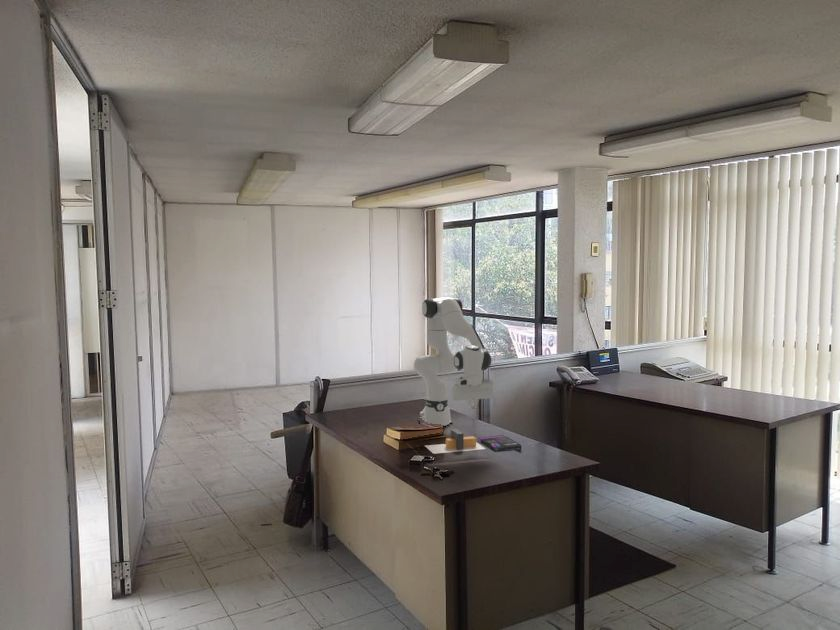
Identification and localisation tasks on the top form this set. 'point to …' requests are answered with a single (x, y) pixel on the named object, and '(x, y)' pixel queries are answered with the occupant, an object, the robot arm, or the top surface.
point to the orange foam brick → (466, 442)
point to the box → (500, 443)
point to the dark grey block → (457, 438)
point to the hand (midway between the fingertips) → (472, 408)
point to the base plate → (442, 449)
